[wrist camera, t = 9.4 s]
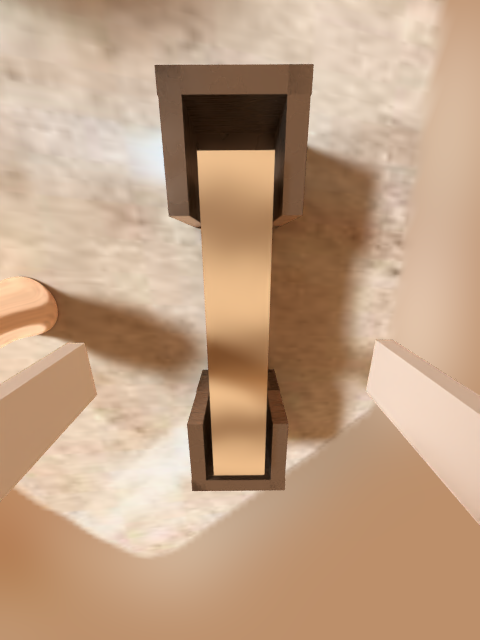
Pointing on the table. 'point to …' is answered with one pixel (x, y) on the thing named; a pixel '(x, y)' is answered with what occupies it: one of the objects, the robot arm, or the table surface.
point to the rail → (237, 301)
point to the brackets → (184, 204)
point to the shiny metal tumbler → (25, 309)
